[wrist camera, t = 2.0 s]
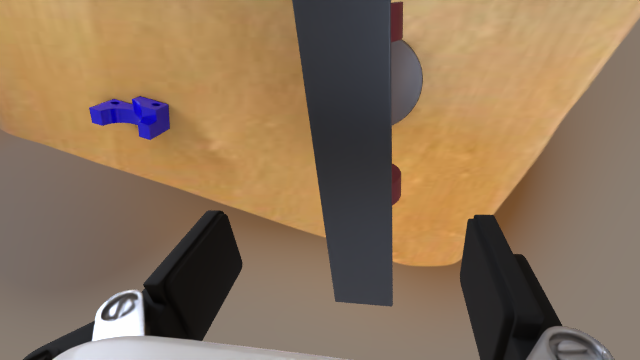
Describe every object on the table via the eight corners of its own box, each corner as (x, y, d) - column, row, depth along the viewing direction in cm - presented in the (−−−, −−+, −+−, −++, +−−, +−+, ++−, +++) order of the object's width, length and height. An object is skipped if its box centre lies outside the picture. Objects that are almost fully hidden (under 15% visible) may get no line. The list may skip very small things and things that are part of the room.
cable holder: (168, 104, 40) (147, 114, 36) (169, 128, 42) (150, 139, 38) (112, 88, 40) (86, 96, 37) (116, 112, 42) (92, 122, 39)
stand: (423, 26, 30) (468, 62, 13) (419, 123, 35) (448, 241, 18) (324, 38, 32) (252, 81, 15) (333, 127, 37) (286, 235, 20)
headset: (401, -19, 22) (415, -39, 10) (399, 188, 30) (406, 308, 19) (330, -8, 23) (268, -15, 11) (348, 188, 32) (322, 300, 20)
